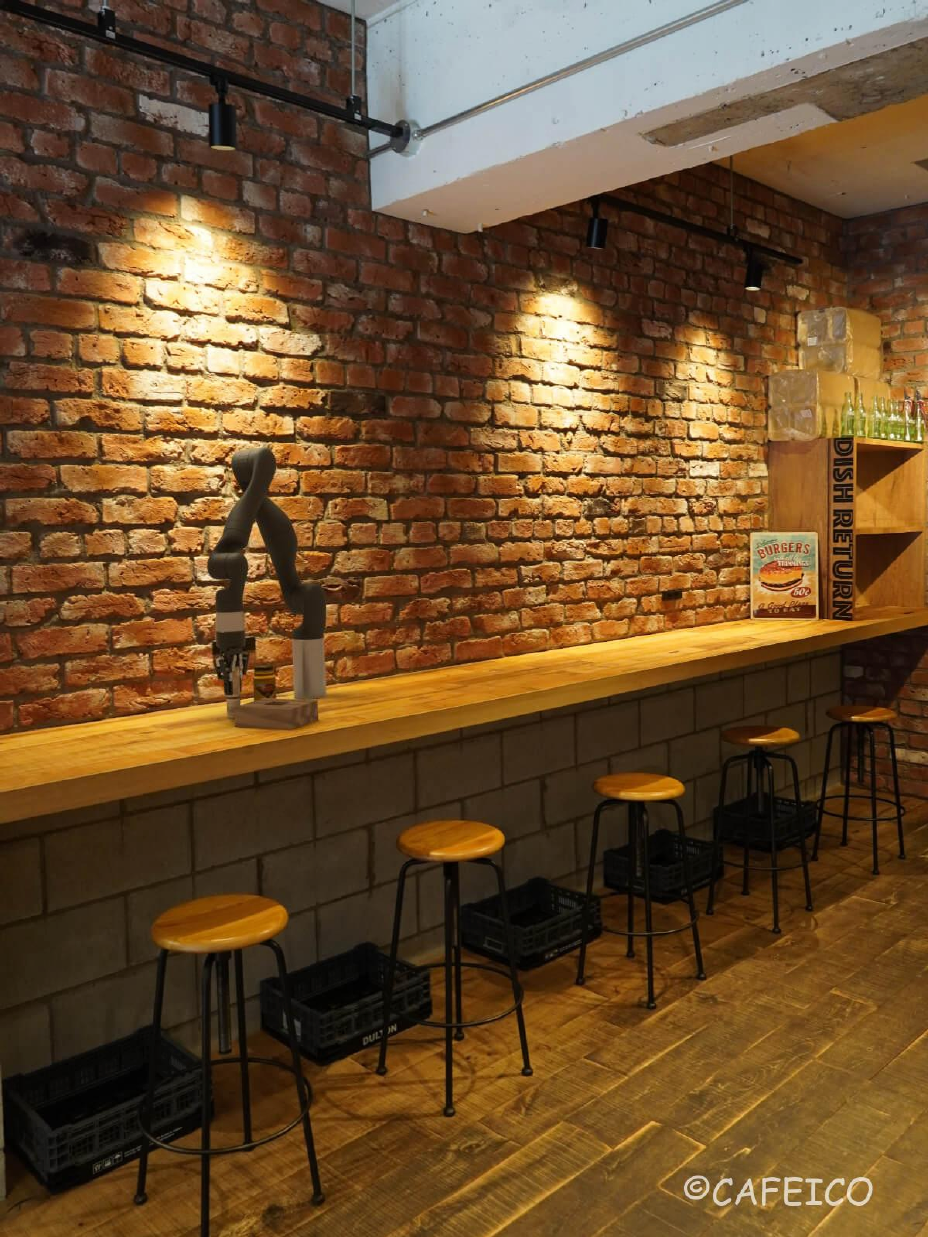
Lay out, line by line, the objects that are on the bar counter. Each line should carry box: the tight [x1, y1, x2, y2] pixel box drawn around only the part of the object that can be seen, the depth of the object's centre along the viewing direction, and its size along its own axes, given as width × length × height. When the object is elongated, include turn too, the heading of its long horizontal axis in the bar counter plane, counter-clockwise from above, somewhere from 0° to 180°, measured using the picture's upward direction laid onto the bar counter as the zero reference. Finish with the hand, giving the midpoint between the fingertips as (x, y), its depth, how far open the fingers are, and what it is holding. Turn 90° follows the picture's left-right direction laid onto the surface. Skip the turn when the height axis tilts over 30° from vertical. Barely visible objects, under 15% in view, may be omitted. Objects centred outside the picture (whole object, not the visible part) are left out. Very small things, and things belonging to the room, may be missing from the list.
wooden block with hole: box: [234, 698, 319, 730], centre depth 265 cm, size 14×16×5 cm
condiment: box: [252, 664, 277, 701], centre depth 287 cm, size 7×8×12 cm
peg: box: [225, 667, 242, 719], centre depth 275 cm, size 4×4×13 cm
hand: (233, 693), depth 275 cm, fingers closed on peg, 3 cm apart
